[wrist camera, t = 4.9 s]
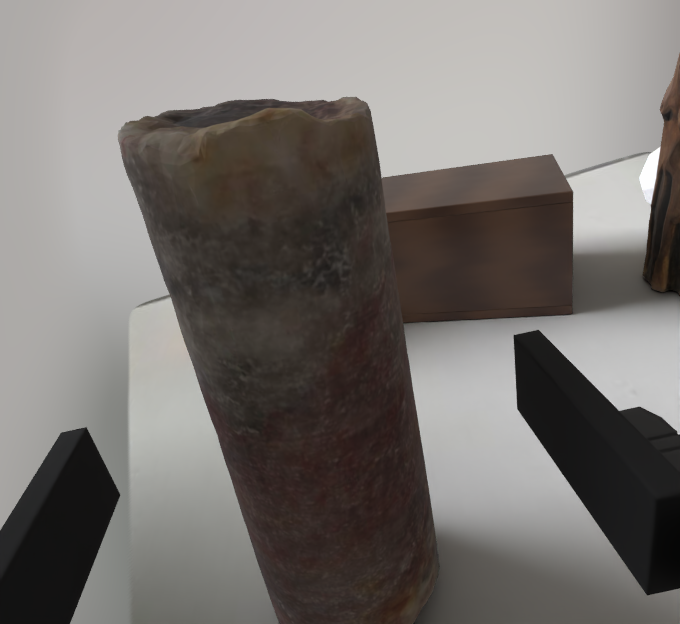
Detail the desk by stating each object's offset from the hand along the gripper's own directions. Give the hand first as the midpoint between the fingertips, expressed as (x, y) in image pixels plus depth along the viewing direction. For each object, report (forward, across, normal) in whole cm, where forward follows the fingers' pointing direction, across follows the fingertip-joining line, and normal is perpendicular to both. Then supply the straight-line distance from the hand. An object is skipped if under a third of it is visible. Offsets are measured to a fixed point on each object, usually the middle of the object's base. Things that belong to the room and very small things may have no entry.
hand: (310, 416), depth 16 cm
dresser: (+29, +14, -11) cm, 34 cm away
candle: (+3, 0, -11) cm, 11 cm away
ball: (+36, +39, -11) cm, 54 cm away
